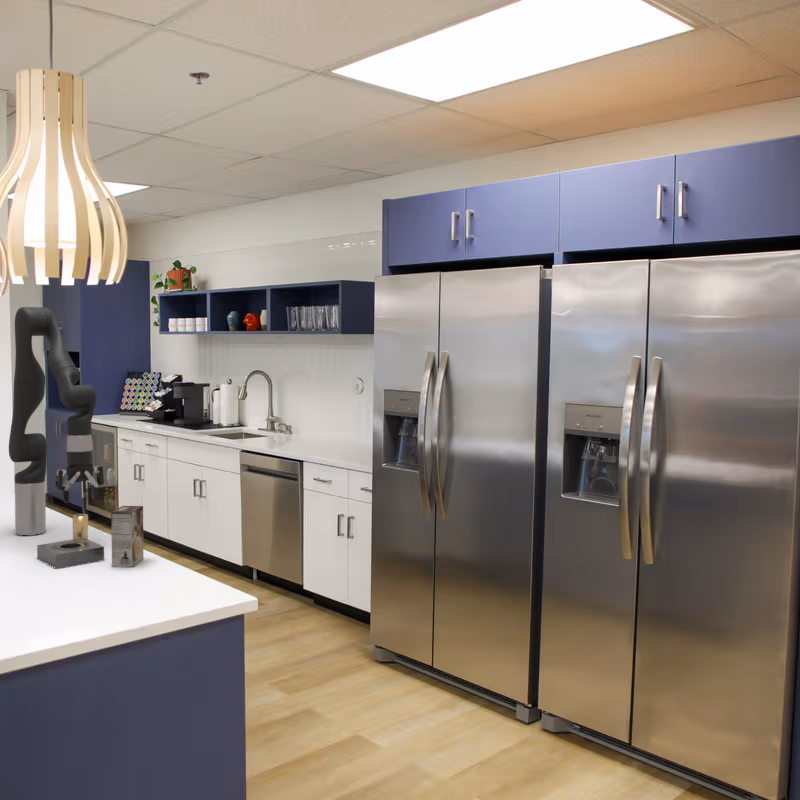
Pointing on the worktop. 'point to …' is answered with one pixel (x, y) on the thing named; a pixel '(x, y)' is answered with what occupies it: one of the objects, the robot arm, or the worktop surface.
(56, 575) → the worktop surface
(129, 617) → the worktop surface
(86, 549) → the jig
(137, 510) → the coffee box
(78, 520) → the bushing
